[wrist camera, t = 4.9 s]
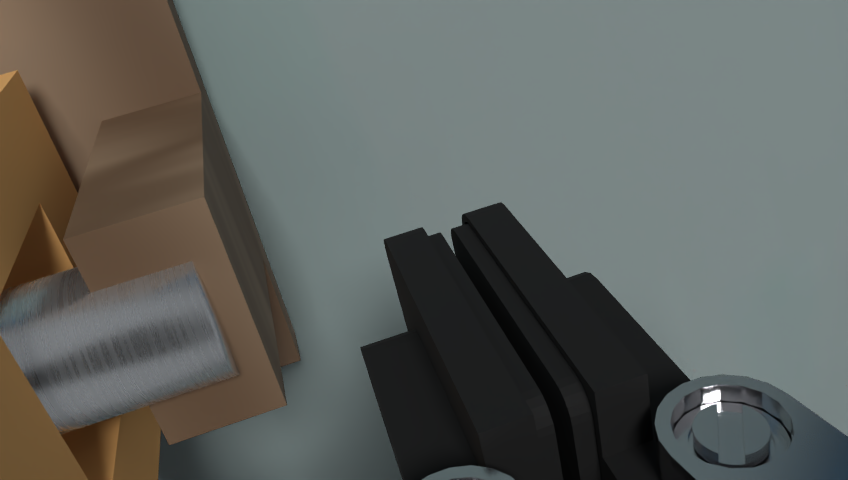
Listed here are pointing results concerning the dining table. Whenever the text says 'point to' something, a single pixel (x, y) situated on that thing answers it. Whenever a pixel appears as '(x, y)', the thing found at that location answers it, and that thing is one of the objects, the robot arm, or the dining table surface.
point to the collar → (33, 259)
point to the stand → (152, 182)
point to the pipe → (113, 342)
